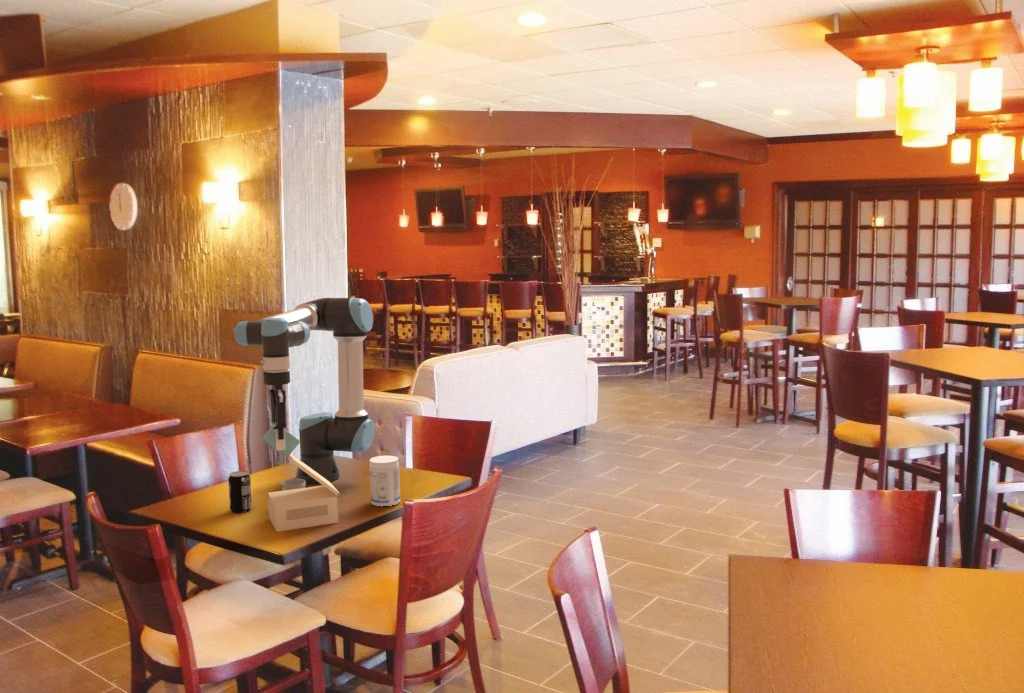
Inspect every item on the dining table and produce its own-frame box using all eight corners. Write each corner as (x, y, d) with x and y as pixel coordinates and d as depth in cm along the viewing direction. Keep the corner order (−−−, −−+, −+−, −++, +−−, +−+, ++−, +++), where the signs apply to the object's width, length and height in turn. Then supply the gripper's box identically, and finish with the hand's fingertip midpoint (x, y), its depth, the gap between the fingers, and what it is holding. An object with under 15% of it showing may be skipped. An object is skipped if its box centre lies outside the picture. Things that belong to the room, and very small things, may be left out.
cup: (311, 505, 270) (310, 479, 269) (291, 514, 261) (290, 488, 260) (292, 503, 273) (291, 477, 272) (272, 512, 264) (270, 485, 263)
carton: (269, 517, 259) (268, 492, 258) (327, 509, 266) (326, 485, 265) (276, 531, 246) (275, 505, 245) (338, 522, 253) (337, 496, 252)
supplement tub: (390, 496, 279) (389, 453, 277) (406, 503, 272) (405, 459, 270) (364, 502, 273) (363, 458, 271) (380, 509, 266) (378, 464, 264)
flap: (259, 434, 255) (272, 418, 256) (328, 485, 265) (340, 469, 266) (266, 443, 242) (279, 427, 243) (338, 496, 253) (351, 480, 254)
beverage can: (229, 508, 268) (227, 471, 267) (251, 506, 271) (249, 469, 269) (230, 514, 262) (228, 477, 261) (252, 512, 265) (250, 474, 263)
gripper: (259, 367, 254) (262, 444, 257) (267, 375, 239) (271, 455, 242) (284, 366, 257) (287, 441, 260) (294, 373, 242) (297, 453, 245)
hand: (279, 448), depth 251 cm, fingers closed on flap, 3 cm apart
